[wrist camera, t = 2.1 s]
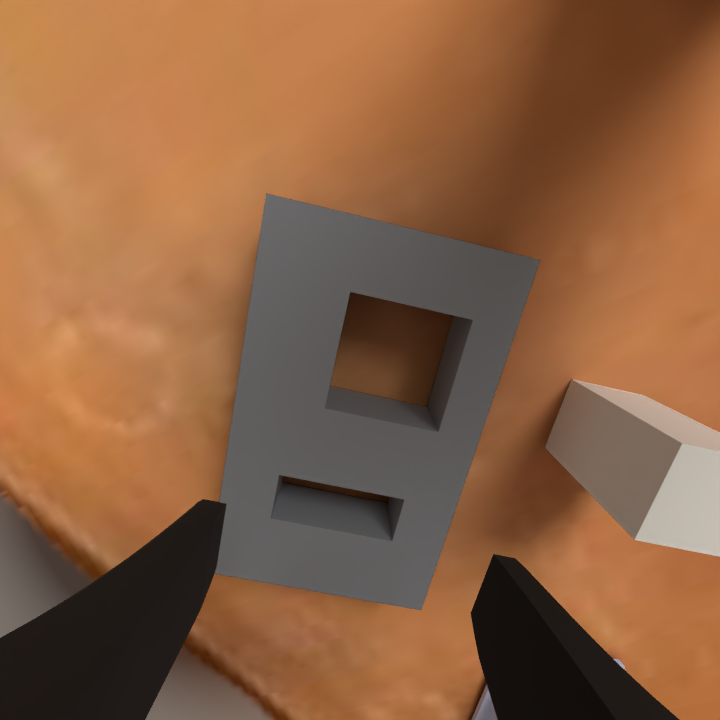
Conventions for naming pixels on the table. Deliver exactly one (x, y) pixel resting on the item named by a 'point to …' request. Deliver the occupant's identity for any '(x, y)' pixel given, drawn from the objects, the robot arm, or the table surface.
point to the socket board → (357, 405)
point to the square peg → (642, 465)
